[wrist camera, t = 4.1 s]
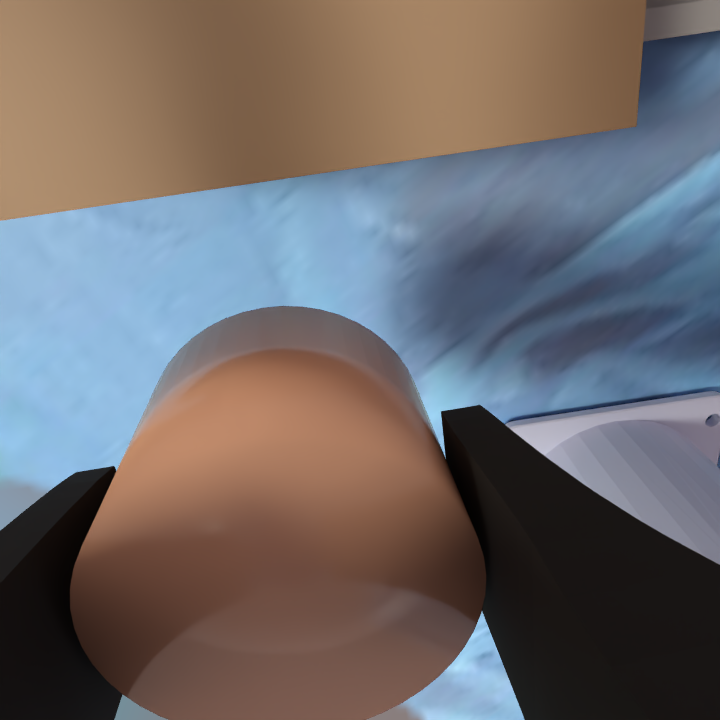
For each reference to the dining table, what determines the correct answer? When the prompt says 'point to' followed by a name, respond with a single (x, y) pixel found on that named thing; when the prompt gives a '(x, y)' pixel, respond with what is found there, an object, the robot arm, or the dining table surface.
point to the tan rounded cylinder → (279, 532)
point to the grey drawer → (680, 18)
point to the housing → (291, 88)
